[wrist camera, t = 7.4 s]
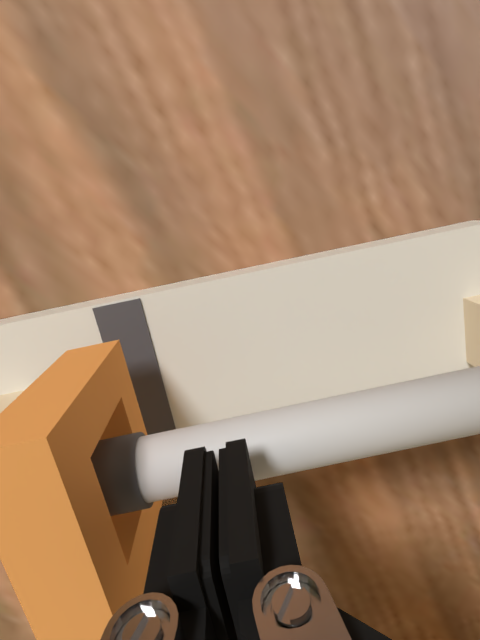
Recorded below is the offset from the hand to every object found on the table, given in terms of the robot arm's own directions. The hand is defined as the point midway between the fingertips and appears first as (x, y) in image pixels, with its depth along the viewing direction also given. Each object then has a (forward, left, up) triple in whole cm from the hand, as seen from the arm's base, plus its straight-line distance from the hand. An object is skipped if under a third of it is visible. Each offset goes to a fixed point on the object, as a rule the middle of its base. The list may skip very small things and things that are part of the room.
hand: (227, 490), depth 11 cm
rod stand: (-1, 0, -9) cm, 9 cm away
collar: (+4, 0, -5) cm, 7 cm away
